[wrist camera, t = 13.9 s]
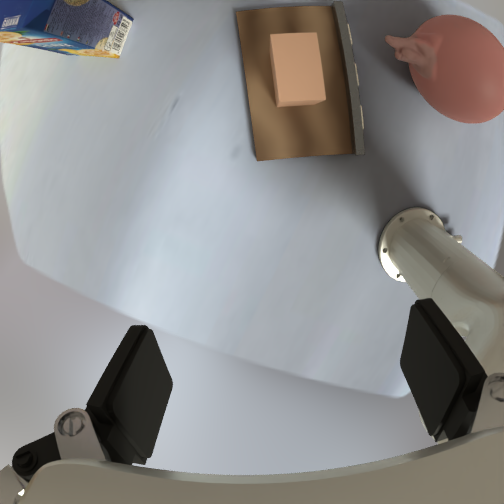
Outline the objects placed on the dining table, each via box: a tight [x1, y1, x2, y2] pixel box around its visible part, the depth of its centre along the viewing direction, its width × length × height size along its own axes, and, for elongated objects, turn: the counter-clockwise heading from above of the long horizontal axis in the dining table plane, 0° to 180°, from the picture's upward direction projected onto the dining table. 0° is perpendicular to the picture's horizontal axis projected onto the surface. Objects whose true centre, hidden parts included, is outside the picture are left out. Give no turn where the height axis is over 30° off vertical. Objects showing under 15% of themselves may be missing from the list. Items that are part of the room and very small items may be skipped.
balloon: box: [385, 15, 504, 123], centre depth 26 cm, size 15×20×15 cm
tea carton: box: [269, 33, 326, 107], centre depth 31 cm, size 8×5×8 cm, turn 7°
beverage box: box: [0, 0, 134, 58], centre depth 23 cm, size 7×11×22 cm, turn 72°
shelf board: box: [236, 6, 352, 161], centre depth 35 cm, size 13×22×2 cm, turn 7°
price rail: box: [331, 1, 365, 155], centre depth 34 cm, size 2×22×4 cm, turn 7°
